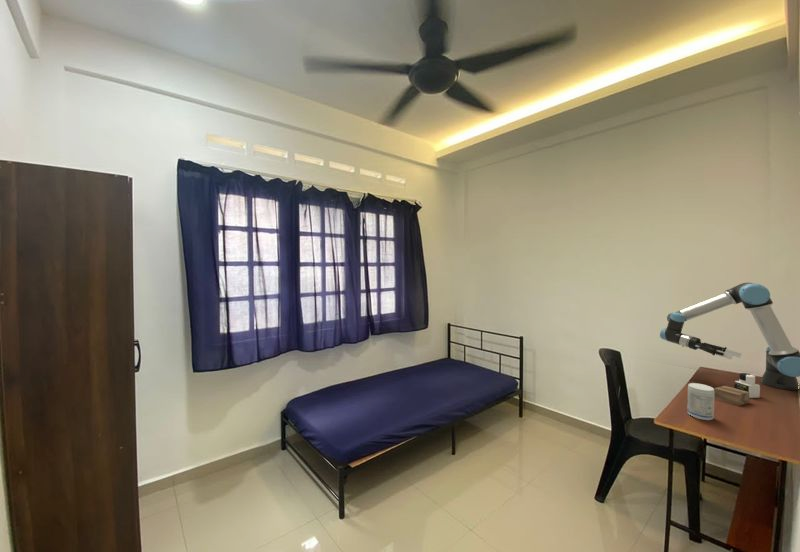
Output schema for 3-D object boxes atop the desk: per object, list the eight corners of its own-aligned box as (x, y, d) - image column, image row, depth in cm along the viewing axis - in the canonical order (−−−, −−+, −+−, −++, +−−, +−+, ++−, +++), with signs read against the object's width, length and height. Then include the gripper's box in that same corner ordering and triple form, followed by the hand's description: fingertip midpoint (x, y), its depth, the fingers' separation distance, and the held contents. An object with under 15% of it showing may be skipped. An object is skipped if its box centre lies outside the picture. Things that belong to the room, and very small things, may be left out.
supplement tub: (689, 410, 164) (690, 381, 164) (715, 416, 157) (716, 386, 156) (685, 415, 158) (685, 386, 158) (712, 423, 151) (712, 392, 150)
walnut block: (724, 396, 181) (724, 385, 181) (748, 403, 172) (749, 392, 172) (713, 398, 178) (714, 388, 177) (738, 406, 168) (738, 395, 168)
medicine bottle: (733, 393, 185) (734, 372, 184) (745, 392, 185) (745, 371, 185) (748, 398, 178) (748, 376, 177) (760, 397, 178) (760, 376, 178)
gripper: (697, 346, 211) (741, 360, 193) (679, 348, 199) (725, 363, 181) (700, 335, 210) (745, 348, 192) (683, 337, 198) (729, 351, 180)
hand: (736, 356), depth 186 cm, fingers open, 13 cm apart
